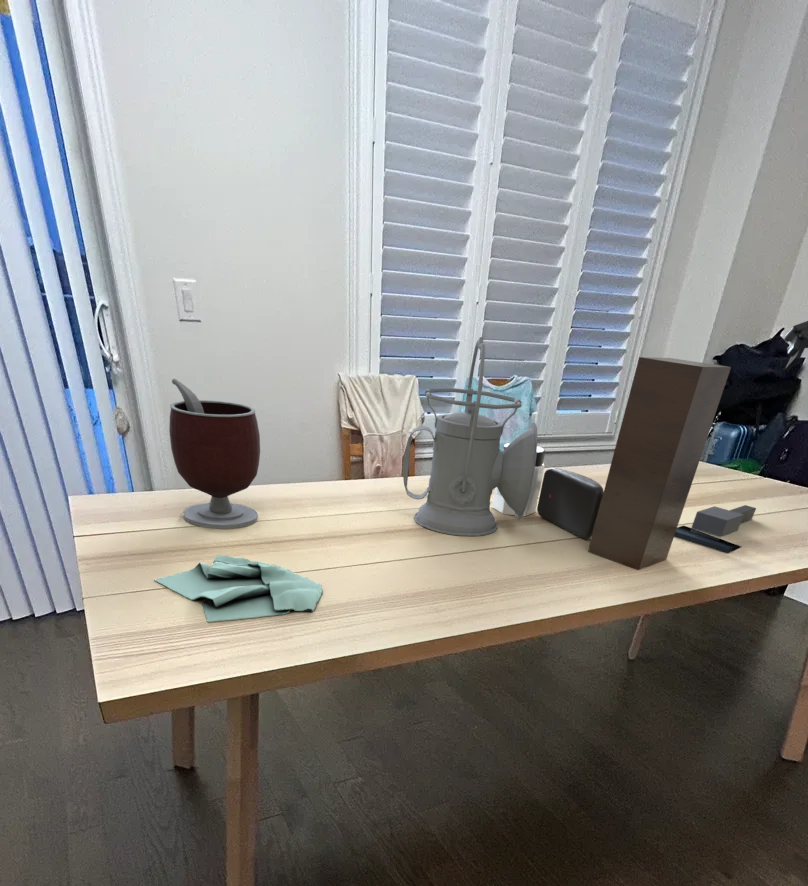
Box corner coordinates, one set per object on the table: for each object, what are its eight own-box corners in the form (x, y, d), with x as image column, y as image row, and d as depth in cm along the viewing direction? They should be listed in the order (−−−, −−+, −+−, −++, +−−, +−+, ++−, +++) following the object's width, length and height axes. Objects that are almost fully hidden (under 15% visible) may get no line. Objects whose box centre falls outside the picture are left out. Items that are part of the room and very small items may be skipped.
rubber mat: (702, 522, 134) (704, 518, 134) (759, 539, 128) (761, 534, 127) (668, 534, 125) (669, 529, 124) (727, 553, 118) (729, 548, 117)
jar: (485, 504, 131) (494, 442, 124) (518, 503, 134) (530, 442, 127) (506, 517, 124) (518, 453, 117) (541, 516, 127) (555, 453, 120)
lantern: (522, 547, 110) (562, 349, 93) (396, 534, 109) (414, 332, 93) (508, 511, 128) (539, 339, 111) (399, 500, 127) (415, 326, 110)
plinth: (616, 542, 117) (669, 357, 101) (666, 559, 112) (731, 367, 95) (587, 551, 111) (638, 356, 95) (638, 570, 106) (702, 366, 89)
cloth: (335, 616, 80) (335, 599, 79) (151, 624, 74) (148, 605, 73) (308, 558, 96) (308, 543, 95) (155, 561, 90) (153, 544, 89)
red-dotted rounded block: (604, 540, 118) (618, 488, 112) (585, 542, 116) (598, 489, 111) (551, 513, 129) (562, 465, 124) (533, 514, 128) (543, 465, 122)
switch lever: (731, 517, 136) (738, 498, 134) (758, 525, 133) (766, 506, 131) (689, 532, 124) (696, 511, 122) (719, 541, 121) (727, 520, 119)
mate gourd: (279, 518, 111) (276, 391, 100) (220, 536, 101) (210, 396, 90) (215, 498, 117) (206, 376, 106) (154, 513, 107) (136, 380, 96)
